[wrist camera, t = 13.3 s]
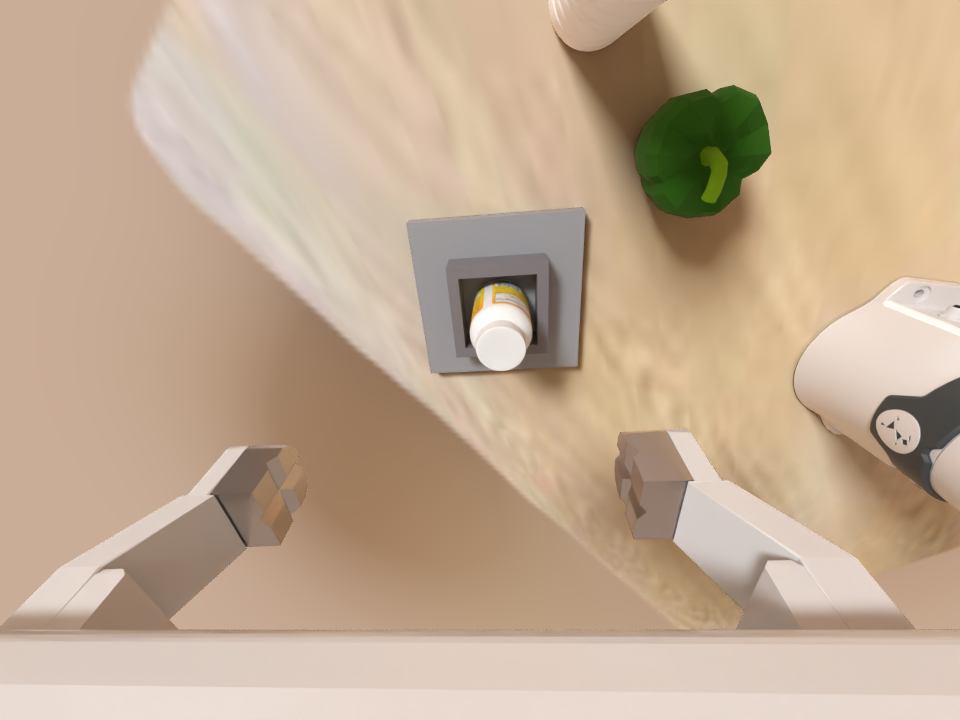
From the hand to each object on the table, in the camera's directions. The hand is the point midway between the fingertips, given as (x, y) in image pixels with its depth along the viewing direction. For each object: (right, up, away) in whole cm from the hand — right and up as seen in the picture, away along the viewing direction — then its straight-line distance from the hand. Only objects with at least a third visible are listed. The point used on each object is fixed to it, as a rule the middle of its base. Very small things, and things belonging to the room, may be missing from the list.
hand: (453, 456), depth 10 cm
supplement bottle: (+3, +8, +29) cm, 31 cm away
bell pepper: (+17, +20, +24) cm, 35 cm away
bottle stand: (+3, +9, +30) cm, 32 cm away
